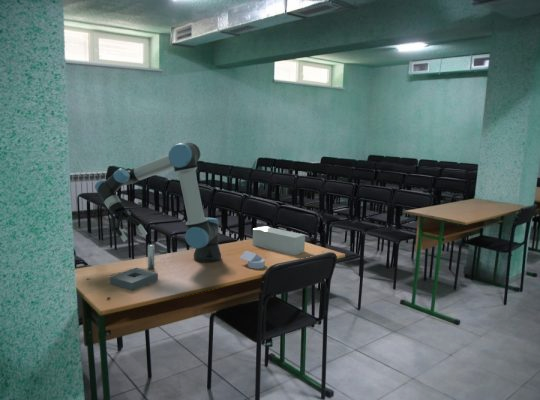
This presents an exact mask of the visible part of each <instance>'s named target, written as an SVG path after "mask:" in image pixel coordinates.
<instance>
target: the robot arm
mask: <svg viewBox="0 0 540 400" xmlns="http://www.w3.org/2000/svg"><path fill="white" fill-rule="evenodd" d="M200 157H201V150H200V148H199V146H197V144H195V143H192V142H180V143H177V144H174V145H173V146H171V148H170V149H169V151H168V154H166V155H163V156H162V157H159V158H156V159H154V160H152V161H149V162H146V163H144V164H141V165H139V166H136V167H133V168H131V169H128V170H126V168H122V167H120V168H118V169H117V170H116V171H114V173H112V174H111V175H110V177H108V178H107V179H101V180H99V181H97V182H96V183H95V185H94V189H95V191H96V193H97V195H98V196H99V197H100V199H101V200H102V202H103V203H104V205H105V206H106V208H107V209H108V211H109V213H110V214H109V215H108V219H109V222H110V231H111V232H113V233H117V236H118V237H120V238H121V240H122V241H123V243H125V242H126V241H127V240H128V237H127V235H126V233H124V231H123V230H122V228H120V226H121V225H120V224H121V222H123V221H126V222H127V221H128V222H130V223H132V224H133V225H135V226H137V229H138V230H139V232H140V233H141V236H143V237H146V236H147V235H148V232H147V231H146V229H145V227H144V223H145V222H144V220H143V219H141V217H139V216H138V215H136V214H135V213H134V212H133V211H132V210H131V209H128V211H127V210H126V208H125V205H124V204H123V202H122V201H121V199H120V198H119V196H118V195H117V194H116V192H117V191H118V190H119V189H121V187H123V186H127V185H128V186H129V185H131V184H136V183H137V182H139V181H142V180H145V179H148V178H150V177H153V176H155V175H159V174H161V173H163V172H168V171H169V170H172V169H174V172H175V173H176V174H177V175H178V178H179V182H180V183H179V184H180V187H181V192H182V197H183V203H184V207H185V211H186V218H187V221H186V222H185V227H186V232H185V236H184V237H185V241H186V243H187V244H188V246H189V247H191V248H193V249H195V250H194V253H193V260H194V261H196V262H200V263H214V262H219V261H220V260H222V253H221V251H220V246H219V231H220V229H219V228H220V227H219V226H220V224H219V219H218V218H216V217H215V218H214V217H205V213H204V209H203V208H204V207H203V205H202V204H203V203H202V199H201V193H200V188H199V185H198V184H199V183H198V179H197V174H196V171H197V169H198V163H197V162H199V160H200Z"/></svg>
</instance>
